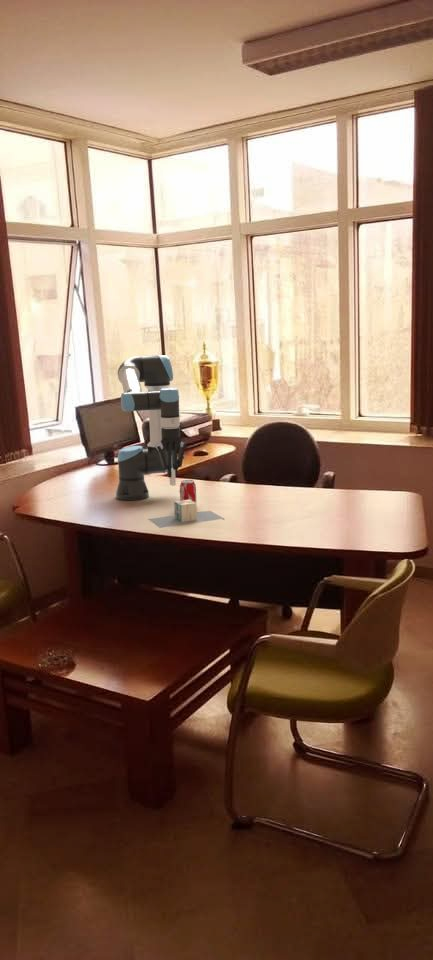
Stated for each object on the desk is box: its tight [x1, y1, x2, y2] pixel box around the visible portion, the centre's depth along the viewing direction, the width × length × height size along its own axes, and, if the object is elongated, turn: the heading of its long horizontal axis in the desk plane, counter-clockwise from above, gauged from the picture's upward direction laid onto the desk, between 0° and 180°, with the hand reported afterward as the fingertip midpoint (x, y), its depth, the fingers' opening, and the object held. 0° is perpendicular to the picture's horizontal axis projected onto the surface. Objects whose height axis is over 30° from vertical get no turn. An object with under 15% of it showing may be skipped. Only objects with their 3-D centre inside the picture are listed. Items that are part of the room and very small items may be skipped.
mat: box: [147, 510, 225, 529], centre depth 317 cm, size 15×28×1 cm, turn 114°
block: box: [173, 500, 198, 522], centre depth 316 cm, size 7×7×7 cm
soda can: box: [179, 479, 197, 504], centre depth 334 cm, size 7×7×12 cm
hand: (172, 484), depth 312 cm, fingers closed
